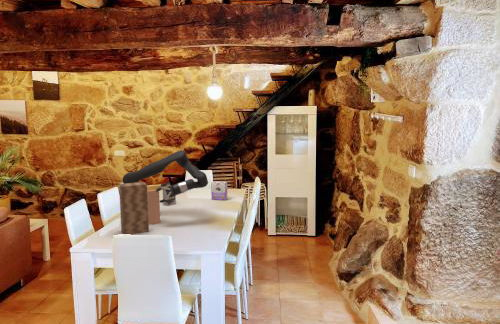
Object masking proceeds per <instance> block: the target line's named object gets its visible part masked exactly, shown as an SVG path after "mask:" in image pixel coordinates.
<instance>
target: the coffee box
mask: <svg viewBox="0 0 500 324" xmlns="http://www.w3.org/2000/svg"><path fill="white" fill-rule="evenodd" d="M172 185H173V184H170V186H172ZM176 196H177V195H175V196H174V198H175V201H173V202H170V203H167V202H163V203H162V205H163V206H167V207H170V206H173V205H176V204H177V200H176ZM166 197H167V193H166V191H165V190H162V200H163V199H166ZM172 198H173V197H170V198H169V199H168V200H170V199H172Z"/></svg>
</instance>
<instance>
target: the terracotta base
mask: <svg viewBox="0 0 500 324" xmlns="http://www.w3.org/2000/svg"><path fill="white" fill-rule="evenodd" d="M147 199H148V223H149V226H150V225H157V224H161V208H160V207H161V206H160V205H161V202H160V191H157V192H156V190H149V191H147Z"/></svg>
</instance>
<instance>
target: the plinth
mask: <svg viewBox="0 0 500 324" xmlns="http://www.w3.org/2000/svg"><path fill="white" fill-rule="evenodd" d="M147 186H148V184H147V183H146V182H144V181H138V182H137V183H126V184H124V183H119V184H118V188H119V192H118V193H119V207H120V209H119V210H120V227H121V233H122V234H130V235H135V234H136V233H137V234H142V233H149V232H150V231H149V230H150V225H149V223H148V199H147Z"/></svg>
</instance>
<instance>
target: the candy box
mask: <svg viewBox="0 0 500 324" xmlns="http://www.w3.org/2000/svg"><path fill="white" fill-rule="evenodd" d="M210 184H211V186H210V187H211V188H210V189H211V190H210V191H211V192H210V193H211V200H212V201H227V200H228V197H229V196H228V193H229V192H228V181H223V180H222V181H220V180H218V181H217V180H215V181H214V180H212V181H211V182H210Z"/></svg>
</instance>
